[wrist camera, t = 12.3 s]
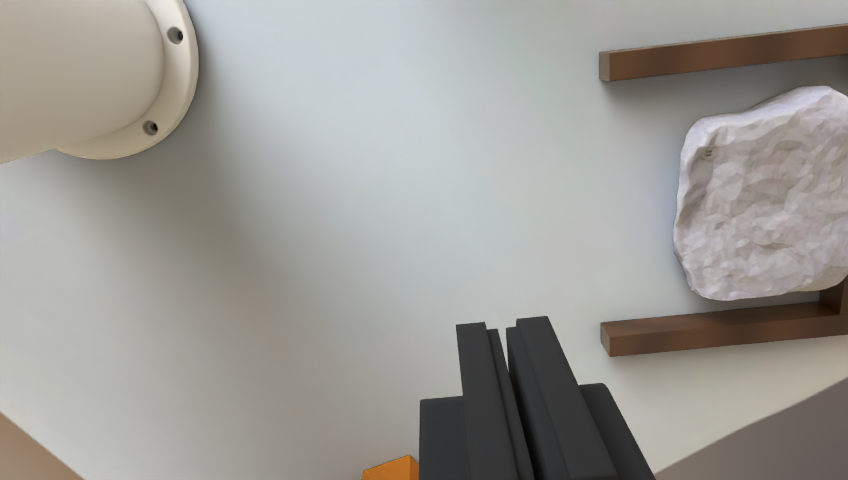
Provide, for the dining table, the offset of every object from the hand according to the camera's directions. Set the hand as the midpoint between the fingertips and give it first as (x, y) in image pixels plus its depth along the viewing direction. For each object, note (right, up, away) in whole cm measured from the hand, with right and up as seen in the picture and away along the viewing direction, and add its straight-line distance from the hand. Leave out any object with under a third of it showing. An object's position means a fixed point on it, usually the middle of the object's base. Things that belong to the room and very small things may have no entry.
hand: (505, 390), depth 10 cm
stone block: (+18, +6, +25) cm, 31 cm away
